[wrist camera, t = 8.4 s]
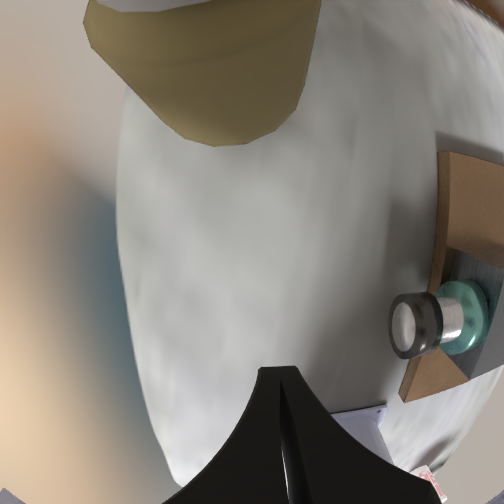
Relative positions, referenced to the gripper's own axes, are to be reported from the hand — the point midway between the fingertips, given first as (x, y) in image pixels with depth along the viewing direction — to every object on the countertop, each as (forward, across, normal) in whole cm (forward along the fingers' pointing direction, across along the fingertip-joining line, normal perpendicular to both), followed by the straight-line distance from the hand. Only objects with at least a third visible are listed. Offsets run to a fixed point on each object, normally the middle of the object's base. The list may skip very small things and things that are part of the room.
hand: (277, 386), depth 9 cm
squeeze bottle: (+10, +2, -13) cm, 16 cm away
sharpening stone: (+9, -18, +1) cm, 20 cm away
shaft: (+7, -15, +1) cm, 17 cm away
